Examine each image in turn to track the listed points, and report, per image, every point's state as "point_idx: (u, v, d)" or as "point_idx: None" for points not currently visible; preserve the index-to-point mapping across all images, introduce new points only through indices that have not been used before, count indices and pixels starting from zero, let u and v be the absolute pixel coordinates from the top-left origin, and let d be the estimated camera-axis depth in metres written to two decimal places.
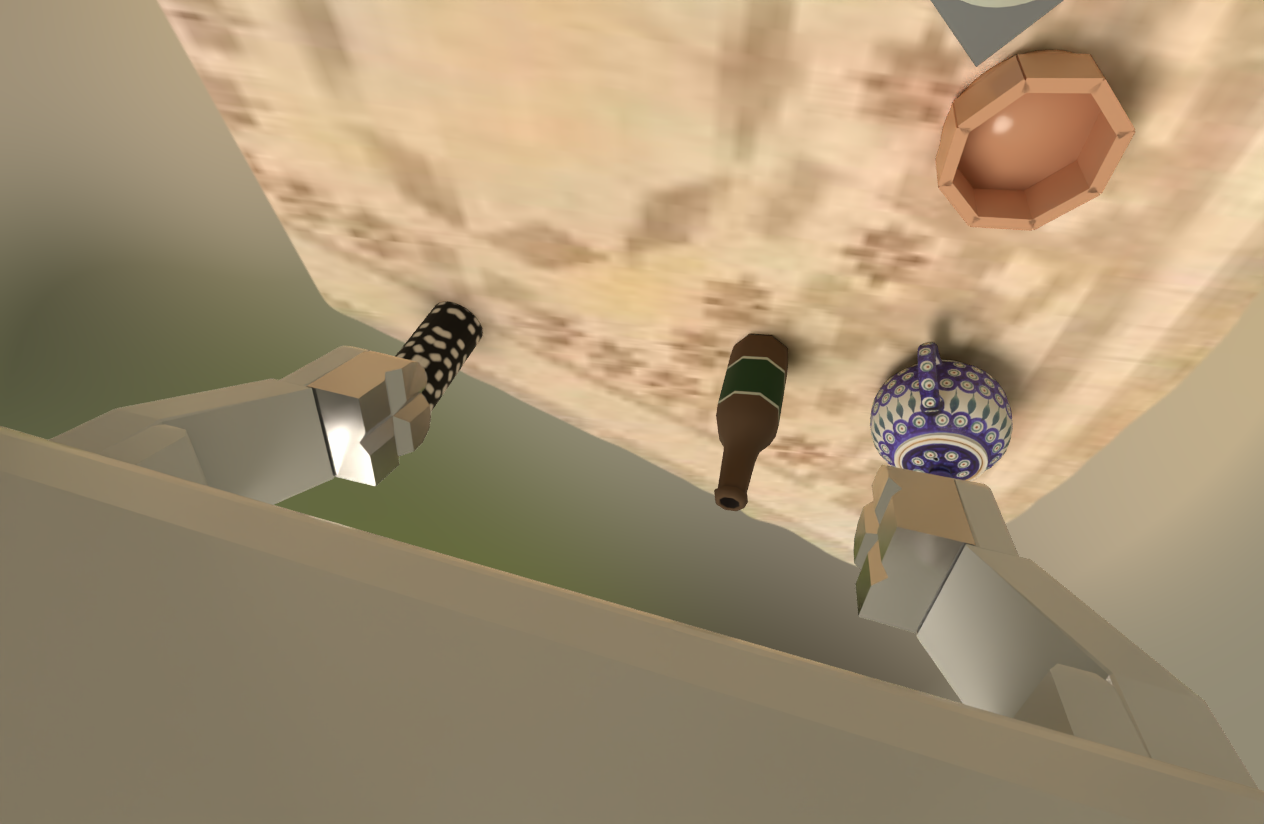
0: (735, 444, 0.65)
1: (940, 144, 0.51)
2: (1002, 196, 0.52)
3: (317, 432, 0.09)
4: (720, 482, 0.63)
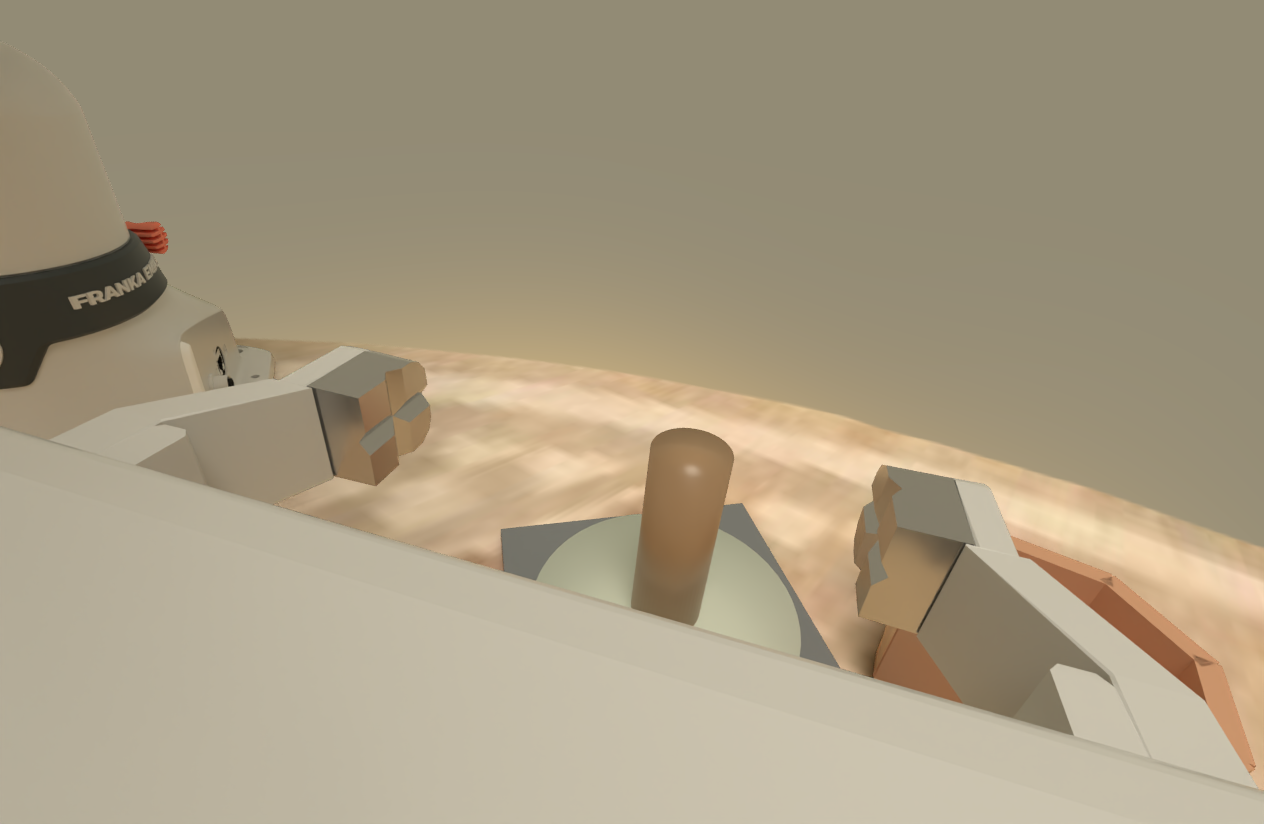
0: None
1: None
2: None
3: (317, 432, 0.09)
4: None
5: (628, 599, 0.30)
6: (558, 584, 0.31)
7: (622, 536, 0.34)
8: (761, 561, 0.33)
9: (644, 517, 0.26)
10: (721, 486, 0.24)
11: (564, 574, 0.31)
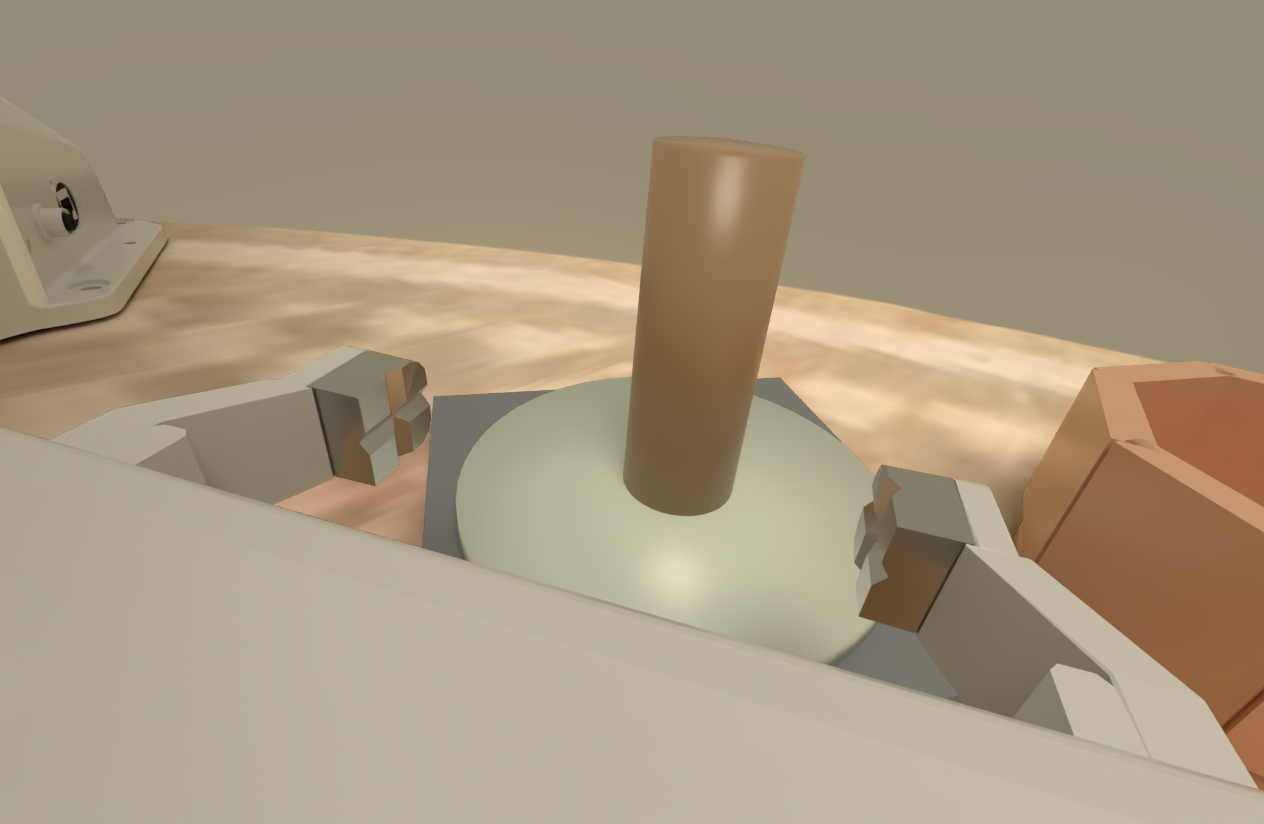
0: None
1: None
2: None
3: (317, 432, 0.09)
4: None
5: (619, 470, 0.19)
6: (509, 450, 0.19)
7: (611, 399, 0.23)
8: (819, 430, 0.22)
9: (643, 290, 0.15)
10: (785, 196, 0.13)
11: (519, 439, 0.20)
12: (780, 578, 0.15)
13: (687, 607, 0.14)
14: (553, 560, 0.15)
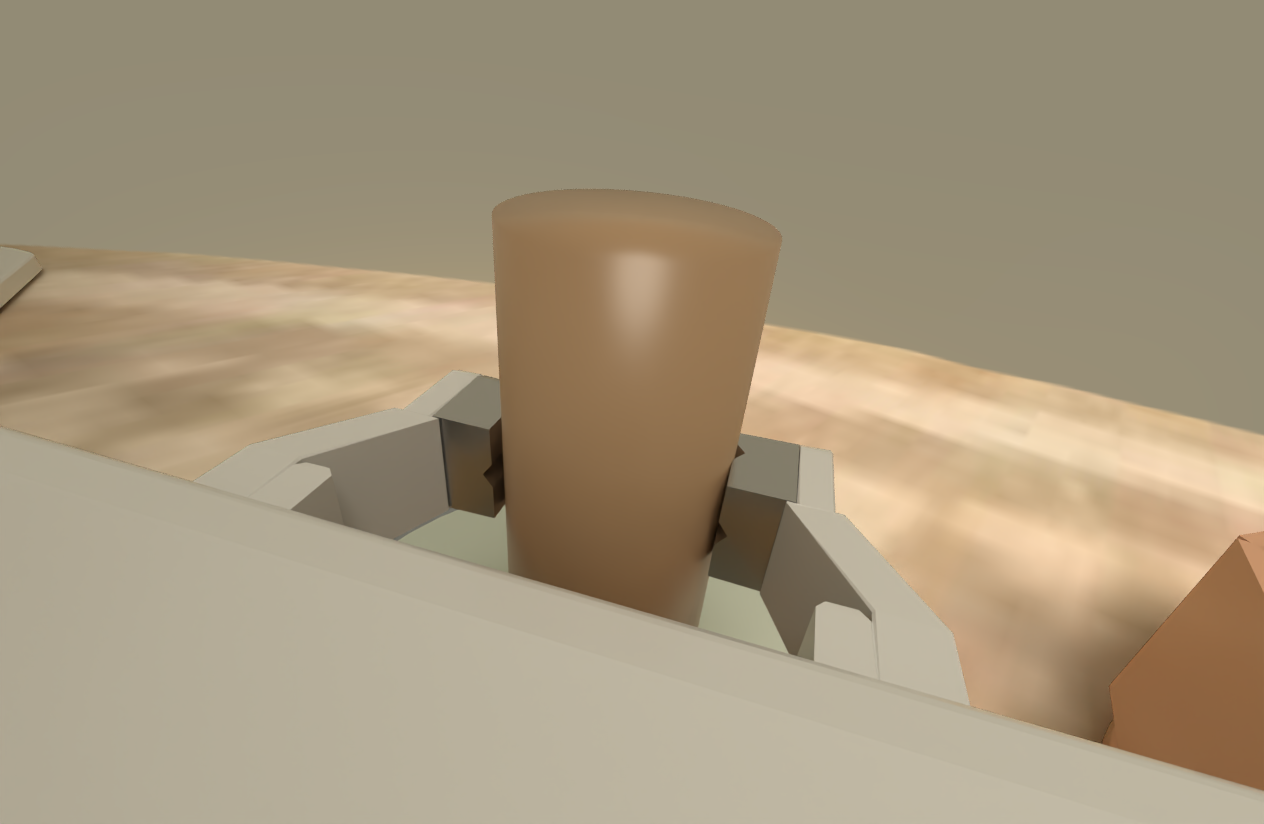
0: None
1: None
2: None
3: (439, 463, 0.09)
4: None
5: None
6: None
7: None
8: None
9: (504, 456, 0.09)
10: (741, 323, 0.07)
11: None
12: None
13: None
14: None
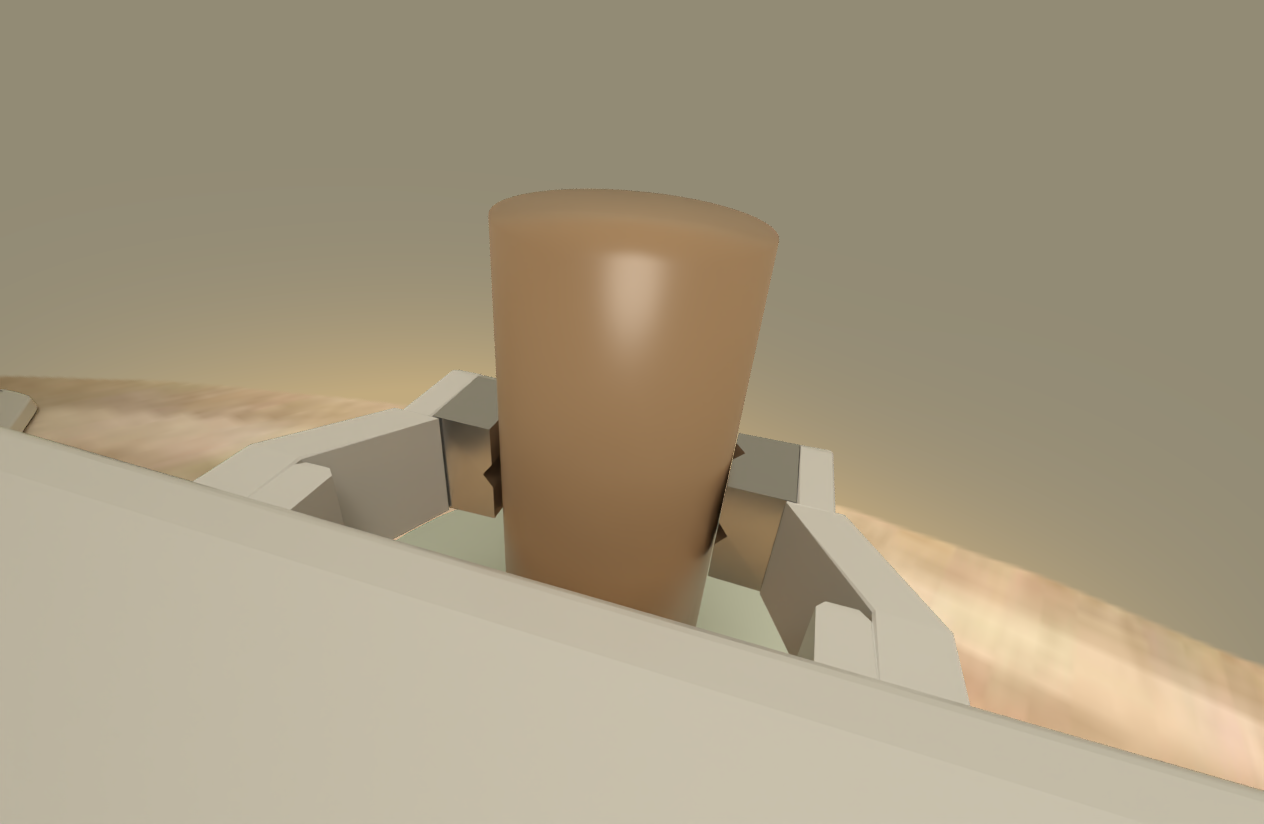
0: None
1: None
2: None
3: (439, 463, 0.09)
4: None
5: None
6: None
7: None
8: None
9: (501, 457, 0.09)
10: (738, 323, 0.07)
11: None
12: None
13: None
14: None
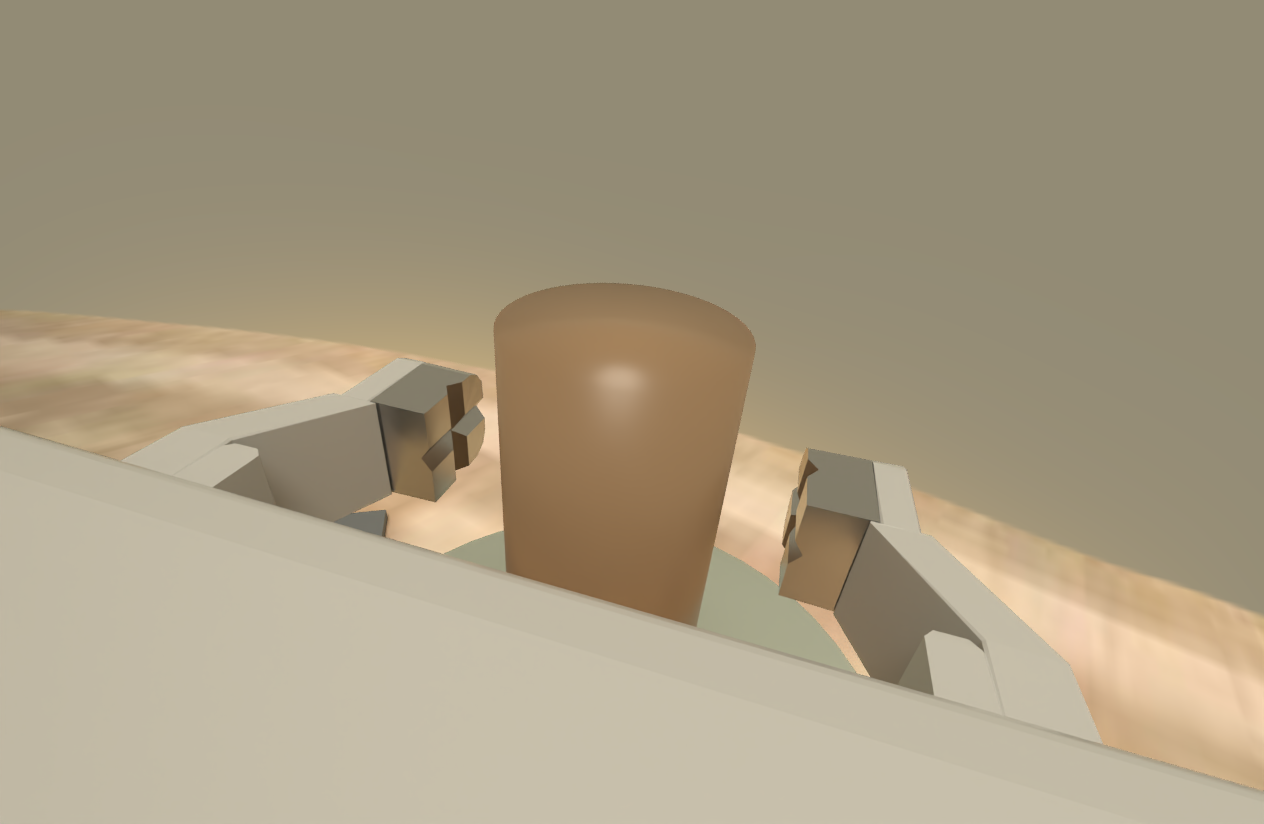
0: None
1: None
2: None
3: (378, 448, 0.09)
4: None
5: None
6: None
7: None
8: (801, 614, 0.16)
9: (504, 530, 0.09)
10: (717, 430, 0.07)
11: None
12: None
13: None
14: None
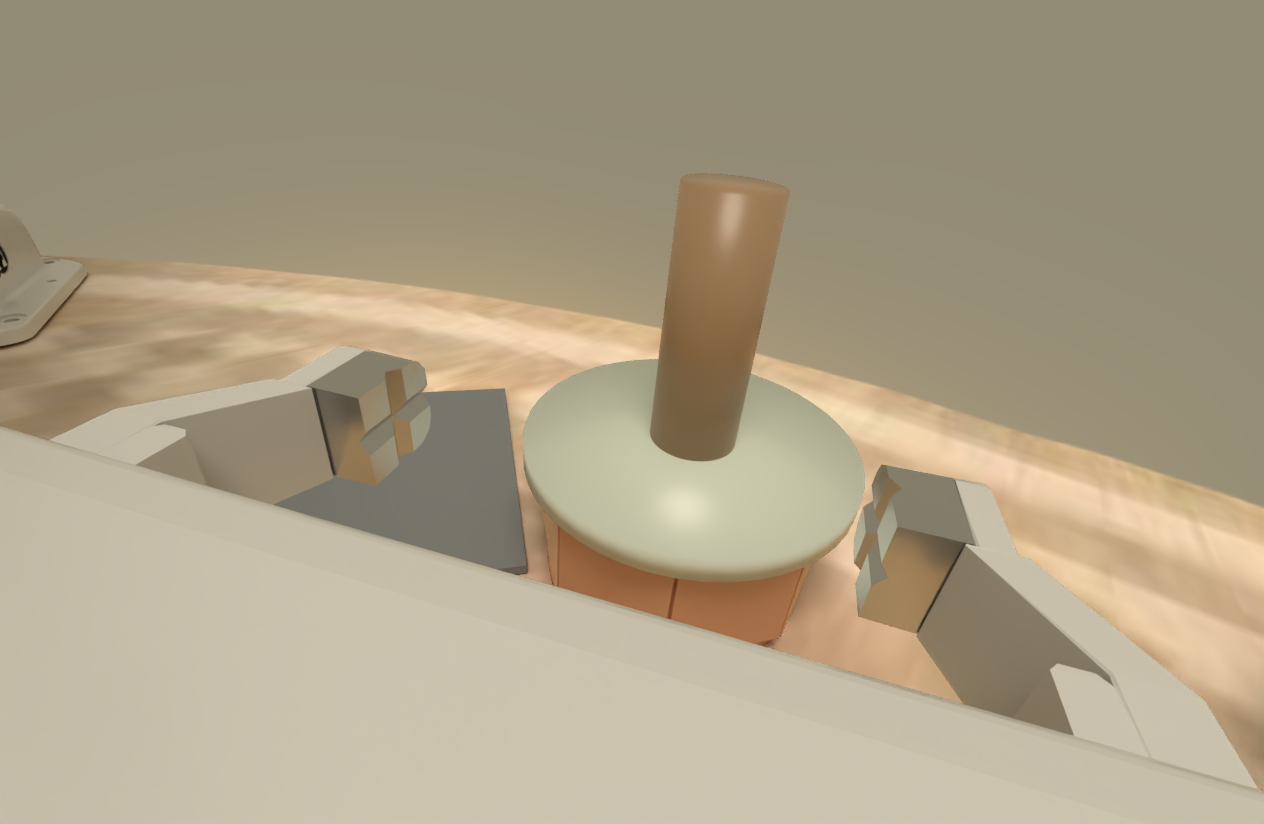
0: None
1: None
2: None
3: (317, 432, 0.09)
4: None
5: (646, 428, 0.24)
6: (559, 413, 0.25)
7: (636, 376, 0.28)
8: (805, 402, 0.27)
9: (670, 288, 0.20)
10: (775, 220, 0.18)
11: (566, 405, 0.25)
12: (771, 503, 0.21)
13: (702, 520, 0.20)
14: (601, 489, 0.21)
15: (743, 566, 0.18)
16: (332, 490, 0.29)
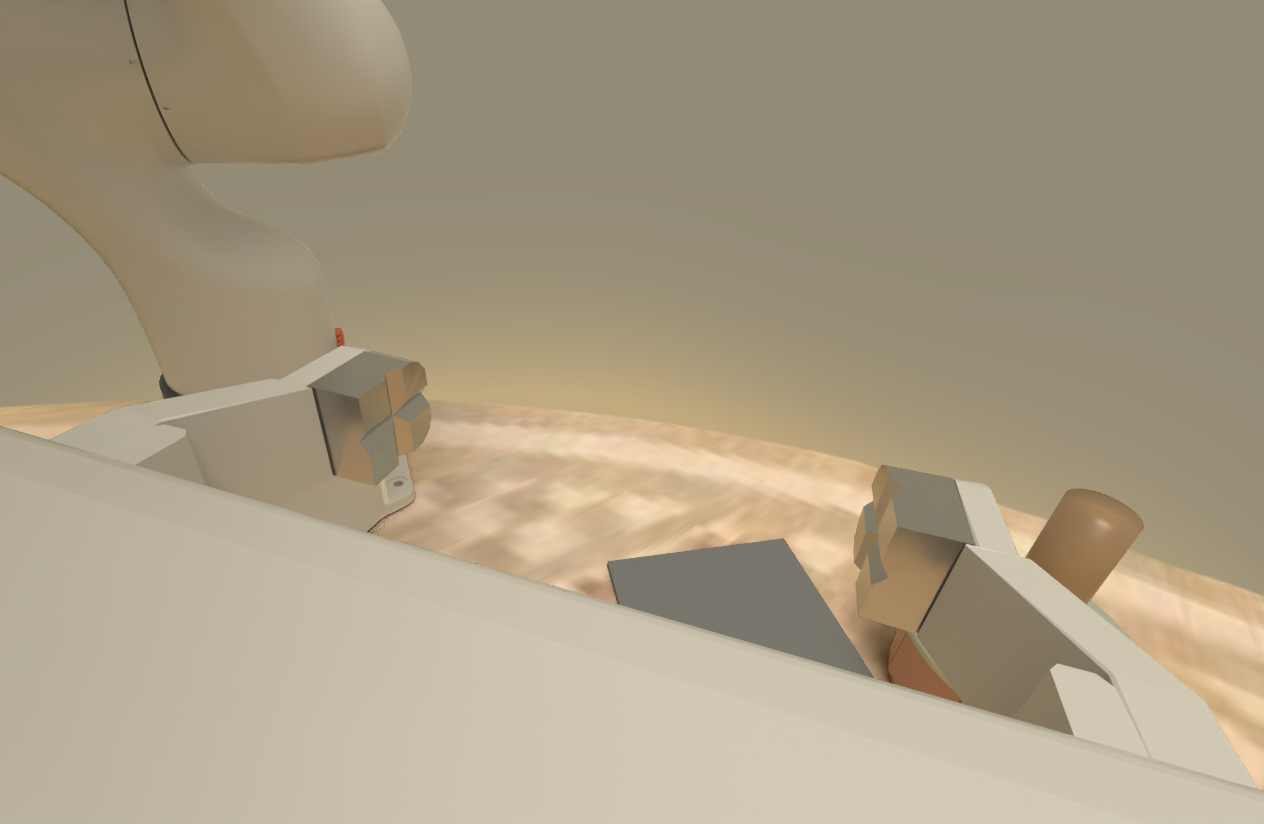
0: None
1: None
2: None
3: (317, 432, 0.09)
4: None
5: None
6: None
7: None
8: None
9: (1047, 561, 0.32)
10: (1135, 538, 0.30)
11: None
12: None
13: None
14: None
15: None
16: None
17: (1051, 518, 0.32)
